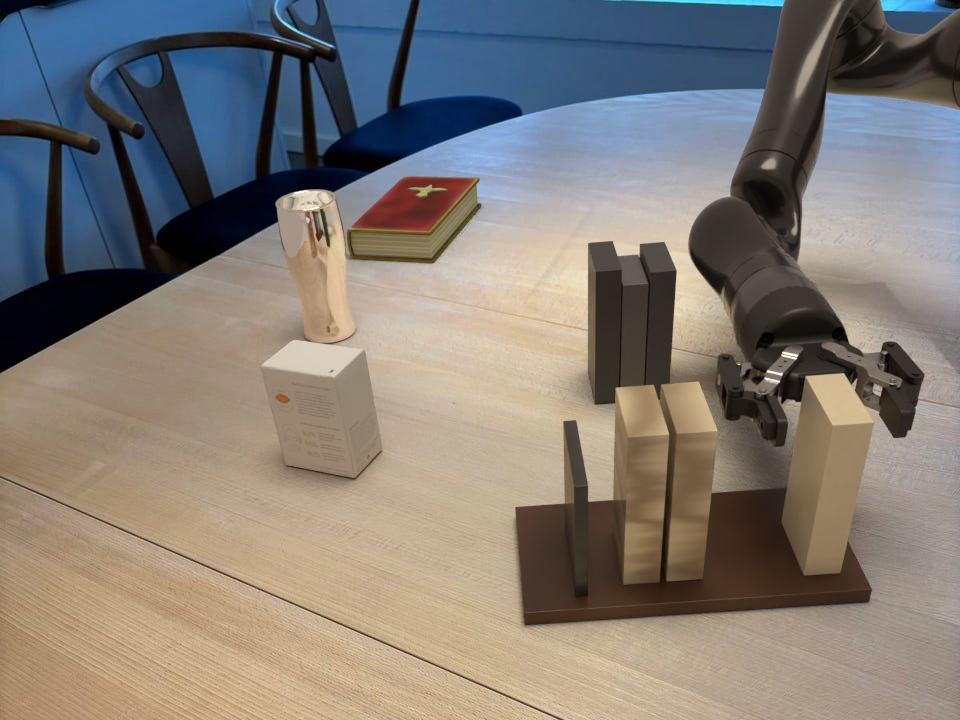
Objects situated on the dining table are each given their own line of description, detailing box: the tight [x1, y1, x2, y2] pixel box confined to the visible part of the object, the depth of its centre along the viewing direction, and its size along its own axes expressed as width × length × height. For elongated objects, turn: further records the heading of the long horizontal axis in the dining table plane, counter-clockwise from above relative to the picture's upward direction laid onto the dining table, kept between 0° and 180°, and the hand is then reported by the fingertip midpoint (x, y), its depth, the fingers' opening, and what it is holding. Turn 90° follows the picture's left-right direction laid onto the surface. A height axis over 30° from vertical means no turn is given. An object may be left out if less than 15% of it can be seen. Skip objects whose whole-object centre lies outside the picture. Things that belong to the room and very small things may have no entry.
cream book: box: [781, 373, 875, 576], centre depth 72 cm, size 3×7×13 cm, turn 1°
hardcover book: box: [346, 175, 482, 264], centre depth 135 cm, size 12×21×4 cm, turn 163°
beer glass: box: [275, 188, 357, 344], centre depth 110 cm, size 7×7×15 cm
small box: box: [260, 339, 383, 479], centre depth 91 cm, size 8×6×10 cm
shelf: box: [514, 381, 873, 625], centre depth 74 cm, size 26×14×14 cm, turn 91°
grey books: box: [587, 240, 678, 405], centre depth 96 cm, size 7×7×14 cm
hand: (842, 431), depth 68 cm, fingers open, 8 cm apart
